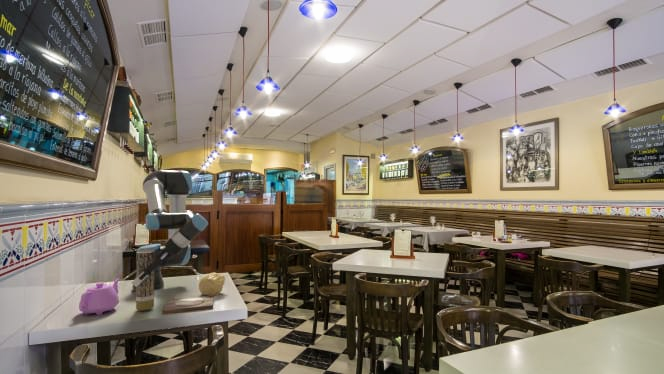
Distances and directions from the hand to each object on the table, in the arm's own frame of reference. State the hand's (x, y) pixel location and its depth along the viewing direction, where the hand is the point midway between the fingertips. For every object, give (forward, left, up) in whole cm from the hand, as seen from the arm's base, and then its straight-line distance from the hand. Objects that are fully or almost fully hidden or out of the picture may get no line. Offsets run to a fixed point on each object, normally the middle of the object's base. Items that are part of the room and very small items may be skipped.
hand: (136, 282), depth 147 cm
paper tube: (0, +4, -12) cm, 12 cm away
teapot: (-6, -14, -12) cm, 20 cm away
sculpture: (-17, +31, -12) cm, 37 cm away
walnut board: (0, +22, -12) cm, 25 cm away
